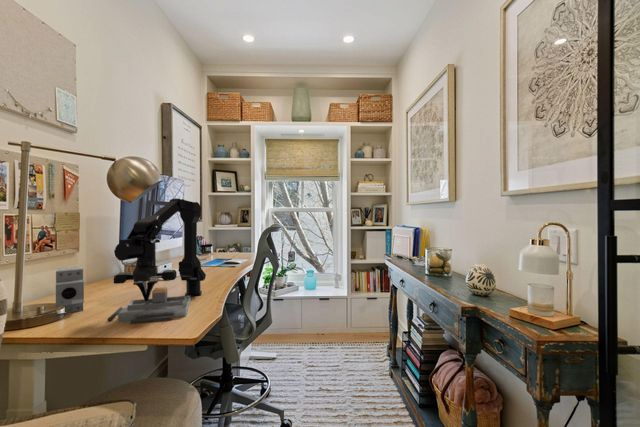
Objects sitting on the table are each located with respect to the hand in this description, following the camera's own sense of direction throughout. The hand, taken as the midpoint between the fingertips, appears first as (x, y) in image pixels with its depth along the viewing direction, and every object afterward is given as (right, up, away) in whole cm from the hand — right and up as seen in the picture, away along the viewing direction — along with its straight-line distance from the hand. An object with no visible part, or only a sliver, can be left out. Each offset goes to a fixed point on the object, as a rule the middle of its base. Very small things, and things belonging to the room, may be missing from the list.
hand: (146, 300), depth 109 cm
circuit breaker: (-28, -5, +1) cm, 29 cm away
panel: (+3, -4, +1) cm, 6 cm away
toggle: (+4, -1, +1) cm, 4 cm away
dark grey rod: (-9, -4, -3) cm, 10 cm away
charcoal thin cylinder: (+7, -4, -9) cm, 12 cm away
